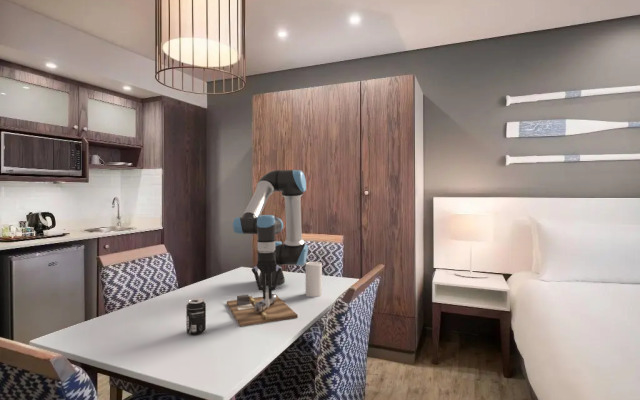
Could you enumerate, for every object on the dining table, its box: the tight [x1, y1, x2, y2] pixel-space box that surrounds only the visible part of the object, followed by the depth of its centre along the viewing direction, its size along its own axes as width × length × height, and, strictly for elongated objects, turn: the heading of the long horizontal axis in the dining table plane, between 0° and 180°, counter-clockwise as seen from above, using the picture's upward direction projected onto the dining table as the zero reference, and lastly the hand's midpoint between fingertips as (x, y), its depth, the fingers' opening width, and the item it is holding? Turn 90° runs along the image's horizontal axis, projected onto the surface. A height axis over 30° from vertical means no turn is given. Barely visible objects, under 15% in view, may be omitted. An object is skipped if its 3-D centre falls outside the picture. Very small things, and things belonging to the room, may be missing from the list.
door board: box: [226, 294, 299, 328], centre depth 154 cm, size 30×24×5 cm
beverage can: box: [185, 297, 207, 336], centre depth 130 cm, size 7×7×12 cm
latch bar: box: [254, 293, 276, 312], centre depth 153 cm, size 17×4×3 cm, turn 165°
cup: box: [305, 261, 323, 298], centre depth 178 cm, size 8×8×16 cm
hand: (267, 306), depth 149 cm, fingers closed
